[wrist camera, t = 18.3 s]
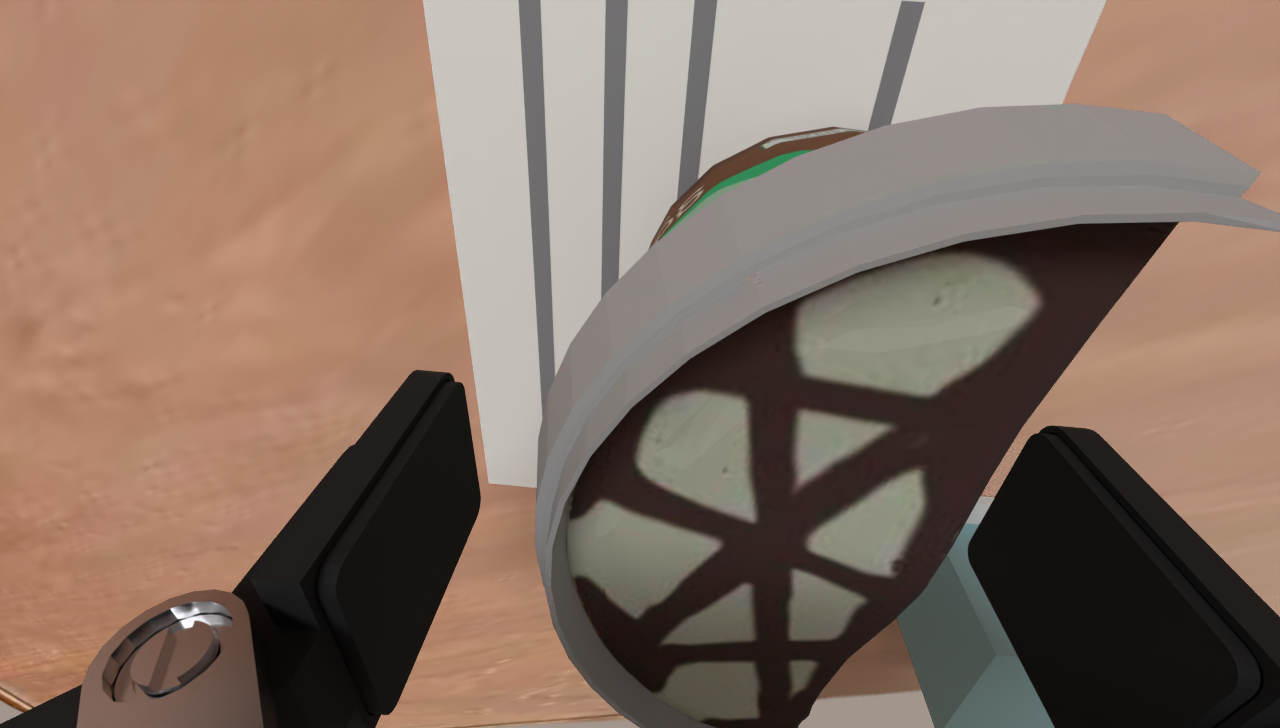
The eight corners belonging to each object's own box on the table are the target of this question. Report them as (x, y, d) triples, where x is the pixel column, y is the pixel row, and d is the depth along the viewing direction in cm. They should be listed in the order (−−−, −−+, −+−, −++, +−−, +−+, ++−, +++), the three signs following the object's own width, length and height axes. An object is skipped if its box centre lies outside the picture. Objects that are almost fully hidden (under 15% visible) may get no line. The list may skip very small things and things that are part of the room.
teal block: (1071, 532, 20) (1175, 671, 15) (1014, 613, 22) (1090, 752, 18) (930, 520, 20) (995, 654, 16) (891, 602, 22) (938, 736, 18)
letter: (1146, -107, 11) (1154, -110, 11) (881, 516, 20) (882, 520, 20) (406, -146, 11) (402, -149, 11) (490, 479, 21) (488, 483, 21)
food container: (646, 3, 12) (548, -39, 4) (908, 64, 12) (1374, 154, 4) (576, 420, 19) (484, 745, 10) (748, 455, 19) (794, 800, 11)
